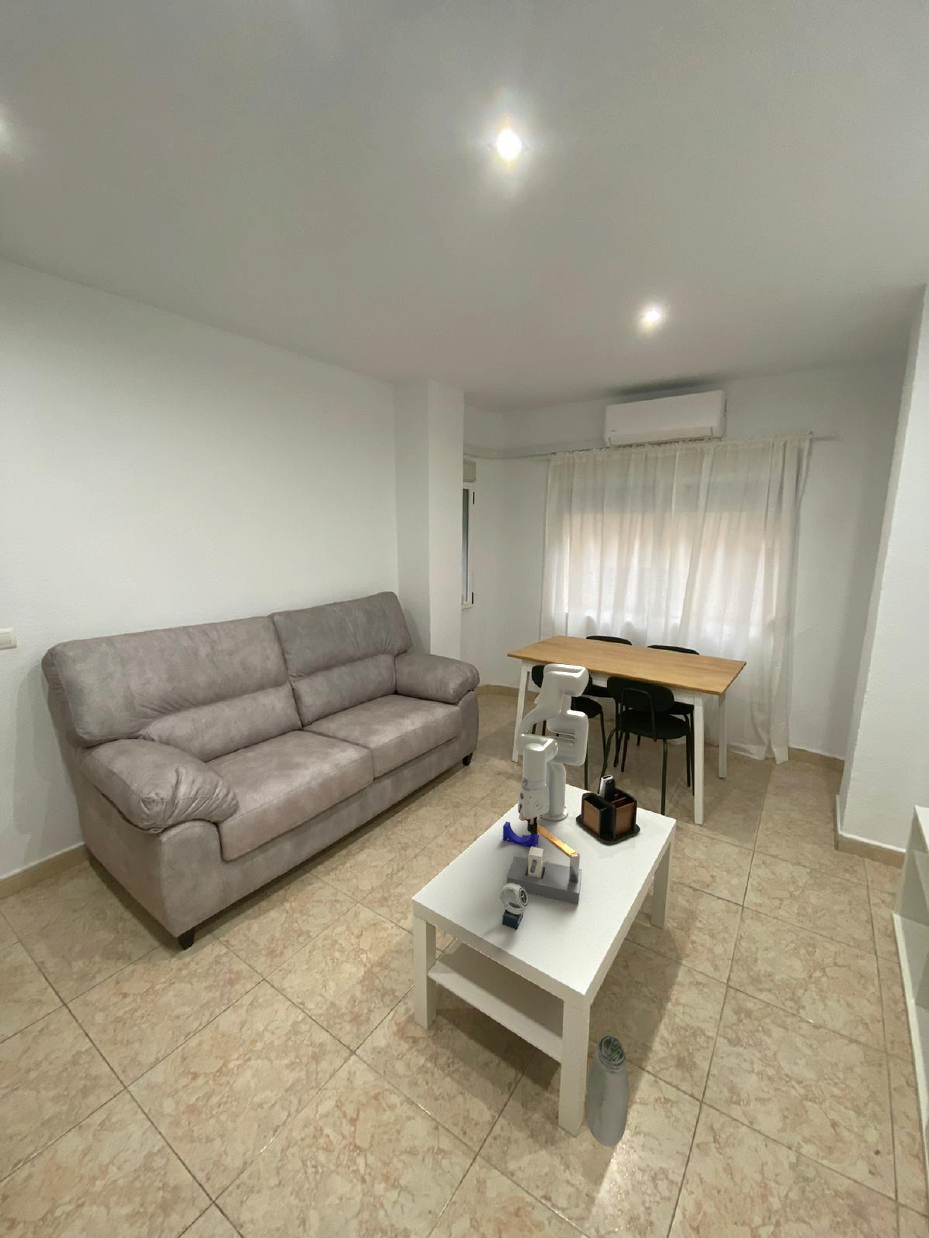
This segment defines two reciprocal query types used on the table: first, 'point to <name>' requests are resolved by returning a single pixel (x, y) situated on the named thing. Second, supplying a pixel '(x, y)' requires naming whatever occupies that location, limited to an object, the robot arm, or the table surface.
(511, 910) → the watch
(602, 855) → the table surface
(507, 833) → the blue cradle stand
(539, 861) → the white upright block
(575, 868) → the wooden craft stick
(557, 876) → the socket block
